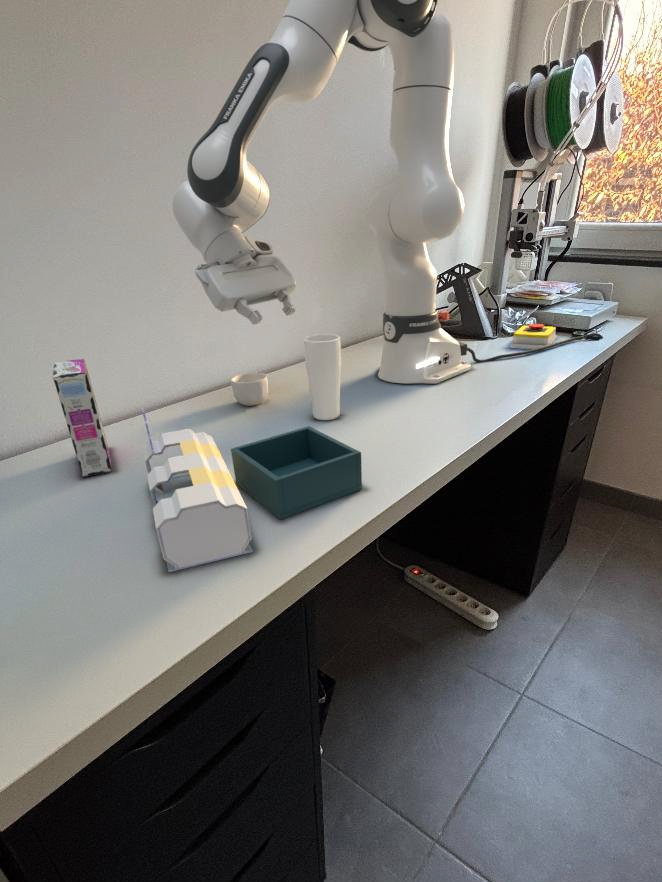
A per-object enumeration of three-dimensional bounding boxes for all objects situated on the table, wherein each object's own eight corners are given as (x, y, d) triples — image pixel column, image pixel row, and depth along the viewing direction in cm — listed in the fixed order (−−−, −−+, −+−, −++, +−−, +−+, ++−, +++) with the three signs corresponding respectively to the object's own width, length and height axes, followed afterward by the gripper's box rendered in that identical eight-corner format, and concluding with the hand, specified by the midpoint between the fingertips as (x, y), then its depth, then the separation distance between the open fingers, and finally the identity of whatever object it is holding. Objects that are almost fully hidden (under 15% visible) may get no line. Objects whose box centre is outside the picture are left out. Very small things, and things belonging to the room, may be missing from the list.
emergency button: (559, 321, 146) (548, 332, 135) (556, 337, 148) (545, 350, 137) (524, 319, 150) (510, 330, 139) (522, 335, 152) (508, 347, 141)
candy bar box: (114, 471, 87) (87, 372, 78) (82, 478, 85) (50, 377, 77) (109, 448, 96) (84, 356, 88) (80, 454, 94) (51, 361, 86)
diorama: (151, 484, 82) (131, 402, 75) (217, 471, 84) (203, 391, 78) (167, 572, 61) (141, 470, 55) (253, 551, 64) (238, 451, 57)
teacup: (257, 410, 109) (253, 384, 107) (226, 406, 113) (223, 381, 110) (281, 395, 117) (279, 371, 114) (252, 392, 120) (249, 368, 118)
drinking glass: (340, 423, 100) (337, 341, 92) (305, 422, 101) (299, 342, 94) (346, 410, 106) (343, 333, 98) (313, 410, 107) (307, 334, 100)
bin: (311, 459, 86) (309, 425, 83) (362, 489, 76) (361, 452, 73) (236, 484, 80) (230, 448, 77) (280, 519, 70) (275, 480, 67)
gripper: (196, 252, 92) (243, 315, 91) (275, 242, 106) (317, 297, 105) (184, 279, 97) (229, 339, 96) (262, 267, 110) (301, 319, 110)
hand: (275, 317), depth 101 cm, fingers open, 8 cm apart
